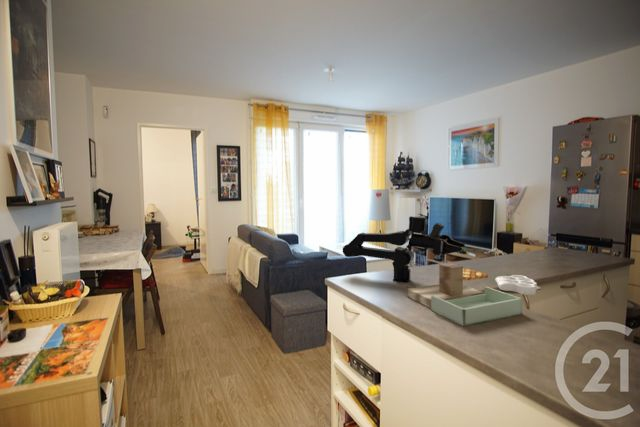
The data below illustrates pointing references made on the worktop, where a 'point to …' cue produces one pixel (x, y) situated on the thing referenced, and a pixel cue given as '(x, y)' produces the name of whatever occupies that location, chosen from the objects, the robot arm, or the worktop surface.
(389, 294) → the worktop surface
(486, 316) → the box
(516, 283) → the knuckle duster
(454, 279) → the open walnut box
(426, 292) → the bench plate
